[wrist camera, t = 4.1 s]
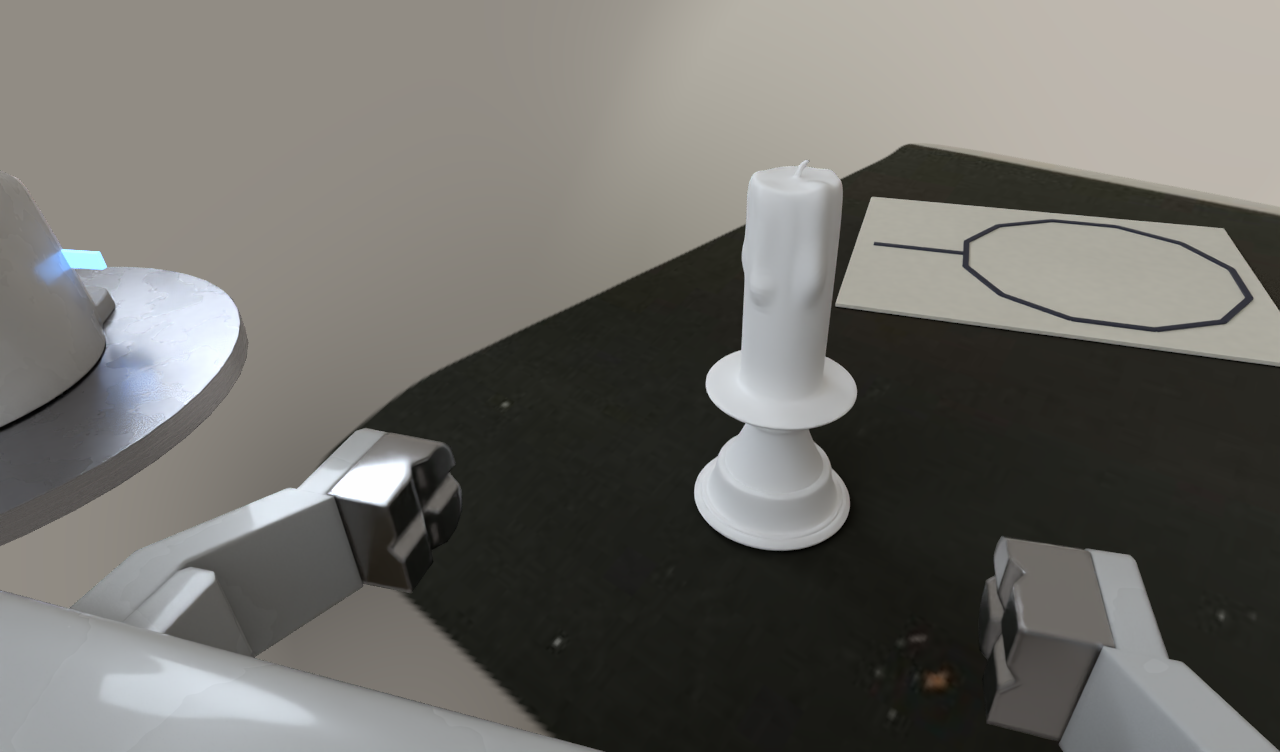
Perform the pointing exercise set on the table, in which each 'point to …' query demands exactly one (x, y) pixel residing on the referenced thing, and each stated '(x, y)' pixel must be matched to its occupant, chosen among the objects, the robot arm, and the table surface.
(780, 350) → the candle
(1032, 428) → the table surface
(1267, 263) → the table surface
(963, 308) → the sketch sheet
